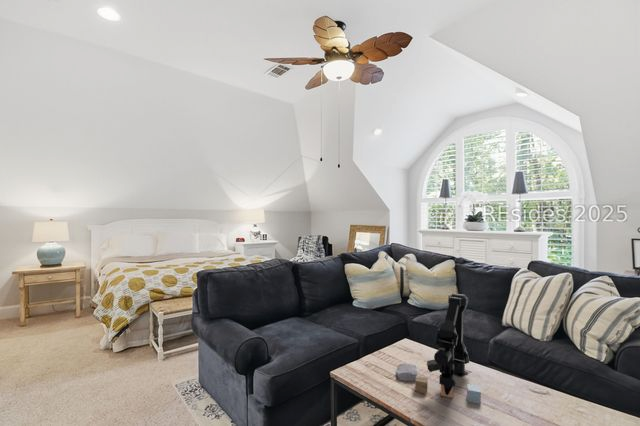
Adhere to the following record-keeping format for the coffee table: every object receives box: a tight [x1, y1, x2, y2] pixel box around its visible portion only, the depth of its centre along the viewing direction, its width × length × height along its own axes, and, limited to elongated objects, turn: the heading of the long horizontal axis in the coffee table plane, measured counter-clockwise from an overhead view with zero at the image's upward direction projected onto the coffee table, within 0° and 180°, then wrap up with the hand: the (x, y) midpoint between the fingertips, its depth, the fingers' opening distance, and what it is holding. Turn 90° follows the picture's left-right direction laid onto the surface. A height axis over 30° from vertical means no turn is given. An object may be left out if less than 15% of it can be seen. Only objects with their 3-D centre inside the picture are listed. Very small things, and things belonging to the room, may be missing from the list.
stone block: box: [396, 362, 418, 382], centre depth 163 cm, size 12×5×10 cm
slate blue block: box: [466, 383, 482, 405], centre depth 142 cm, size 5×5×5 cm
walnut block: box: [414, 374, 429, 394], centre depth 150 cm, size 5×5×5 cm
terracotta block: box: [440, 384, 454, 398], centre depth 146 cm, size 5×5×5 cm
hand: (446, 391), depth 146 cm, fingers closed on terracotta block, 5 cm apart
